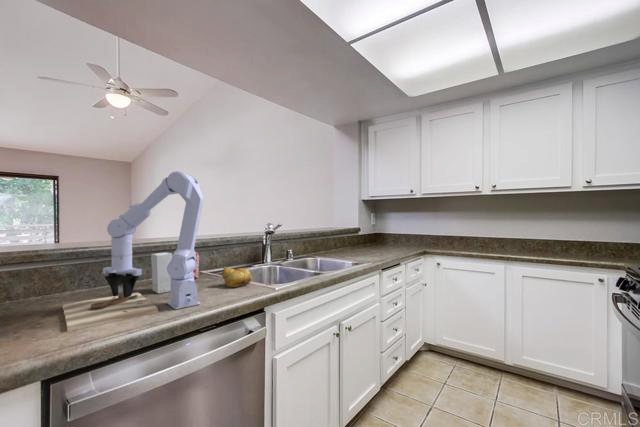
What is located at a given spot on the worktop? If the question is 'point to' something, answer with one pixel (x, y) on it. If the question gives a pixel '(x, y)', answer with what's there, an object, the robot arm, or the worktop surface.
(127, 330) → the worktop surface
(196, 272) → the soda can
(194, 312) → the worktop surface
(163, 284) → the skincare box
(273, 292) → the worktop surface
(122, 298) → the lever
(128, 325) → the worktop surface
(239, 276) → the potato
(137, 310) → the dial board
